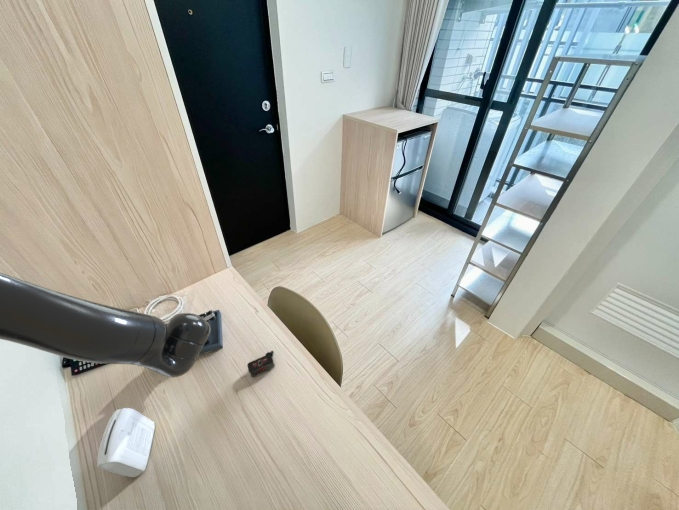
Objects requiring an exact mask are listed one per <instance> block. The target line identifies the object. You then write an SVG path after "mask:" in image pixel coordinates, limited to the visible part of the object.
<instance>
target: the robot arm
mask: <svg viewBox="0 0 679 510" xmlns="http://www.w3.org/2000/svg"><path fill="white" fill-rule="evenodd" d="M213 311H214V310H208V311H206V312H204V313H203V312H202V313H200V314H195V313H191V312H180V313H177V314H175V315H173V316H172V317H171V318H170V320H169V321H168V324H167V323H165V321H164V320H163V319H161V318H159V317H157V316H155V315H151V314H147V313H142V312H138V311H135V310H129V309H124V308H120V307H117V306H116V307H115V306H111V305H108V304H103V303H99V302H95V301H91V300H87V299H83V298H80V297H77V296H73V295H70V294H66V293H63V292H60V291H56V290H53V289H50V288H46V287H44V286H42V285H37V284H34V283H32V282H29V281H25V280H23V279H20V278H17V277H14V276H11V275H9V274H6V273H4V272H3V273H2V272H0V340H2V341H3V340H4V341H6V342H11V343H15V344H18V345H23V346H26V347H29V348H32V349H33V348H34V349H37V350H39V351H42V352H46V353H48V354H49V353H50V354H53V355H56V356H59V357H62V358H65V359H70V360H74V361H78V362H85V363H92V364H105V365H106V364H107V365H108V364H109V365H111V364H112V365H133V366H138V367H143V368H145V369H148V370H151V371H153V372H155V373H157V374H159V375H162V376H165V377H167V378H178V377H181V376H183V375H185V374H187V373H189V371H190V370H191V369H192V368H193V366H194V365H195V363H196V361H197V359H198V357H199V356H200V355H199V353H200V351H201V350H202V348H203V346H204V344H205V342H206V340H207V338H208V336H209V334H210V330H211V328H210V325H209V324H208V322H209V321H212V320H215V319H216V317H215V315H214V313H213ZM198 315H199V316H198ZM166 324H167V326H166Z"/></svg>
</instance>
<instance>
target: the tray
mask: <svg viewBox="0 0 679 510" xmlns="http://www.w3.org/2000/svg"><path fill="white" fill-rule="evenodd" d="M212 311H213V313H214V315H215V317H216V319H215V320H212V321H209V322H208V324H209V325H210V328H211V330H210V334H209V336H208V340H209V343H207V344H206V345H204V346H203V348H202V350H201V351H200V353H199V355H198V356H200V355H204V354H206V353H210V352H214V351H218V350H220V349H223V348H224V343H223V326H222V325H223V324H222V323H223V322H222V313H221V310H220V309H216V310H212ZM197 315H198V316H199V315H200V314H197ZM168 323H169V322H168ZM168 323H167V322H166V323H165V324H166V326H167V324H168Z"/></svg>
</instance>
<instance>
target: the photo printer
mask: <svg viewBox="0 0 679 510" xmlns="http://www.w3.org/2000/svg"><path fill="white" fill-rule="evenodd" d="M155 426H156V423H155V421H153V420H151V419H150V418H148V417H147V416H145V415H143V414H142V413H140V412H139V411H137V410H136V409H134V408H132V407H131V408H129V407H123V408H120V409H116V410H115V411H114V412H113V413H112V415H111V416H110V419H109V420H108V422H107V424H106V427H105V429H104V432H103V434H102V437H101V441H100V444H99V448H98V453H97V459H96V467H97V468H98V469H100V470H102V471H105V472H110V473H112V474H115V475H119V476H122V477H128V478H137V477H138V476H140V475H141V474H143V472H145V471H146V467H147V465H148V462H149V461H148V460H149V457H150V452H151V449H152V443H153V439H154V434H155Z"/></svg>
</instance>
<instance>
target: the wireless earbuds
mask: <svg viewBox="0 0 679 510" xmlns="http://www.w3.org/2000/svg"><path fill="white" fill-rule="evenodd" d="M274 353H275V352H274V350H270V351H267V352H266V353H265V355H263V356H261V357H259V358H257V359H254V360H252V361H250V362H248V363H247V365H246V366H247V370H248V373H249V374H250V376H251V377H253V378H254V377H256V376H258V375H261V374H263V373H265V372H267V371H269V370H272V369H274V368H275V366H276V365H275V362H274V359H273V356H274Z"/></svg>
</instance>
